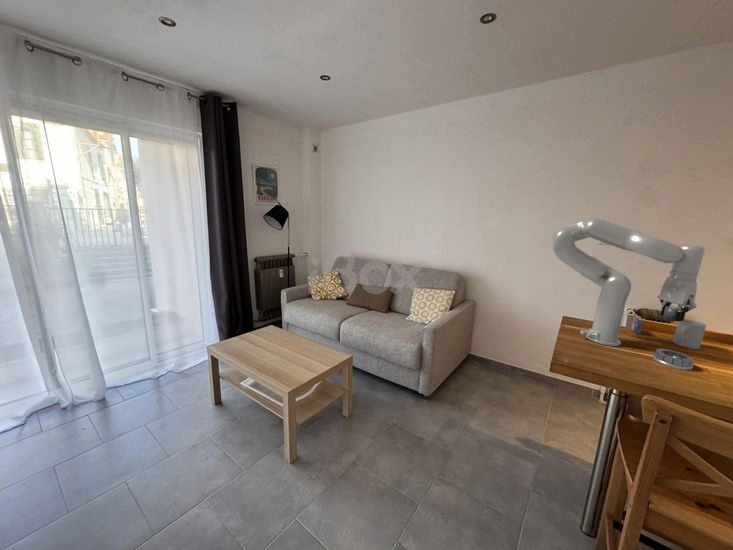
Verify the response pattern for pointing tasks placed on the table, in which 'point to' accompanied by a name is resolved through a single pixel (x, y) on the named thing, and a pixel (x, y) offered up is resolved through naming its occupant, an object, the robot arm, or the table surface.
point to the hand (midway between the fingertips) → (671, 317)
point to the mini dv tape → (636, 326)
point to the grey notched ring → (673, 359)
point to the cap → (670, 312)
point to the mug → (689, 334)
